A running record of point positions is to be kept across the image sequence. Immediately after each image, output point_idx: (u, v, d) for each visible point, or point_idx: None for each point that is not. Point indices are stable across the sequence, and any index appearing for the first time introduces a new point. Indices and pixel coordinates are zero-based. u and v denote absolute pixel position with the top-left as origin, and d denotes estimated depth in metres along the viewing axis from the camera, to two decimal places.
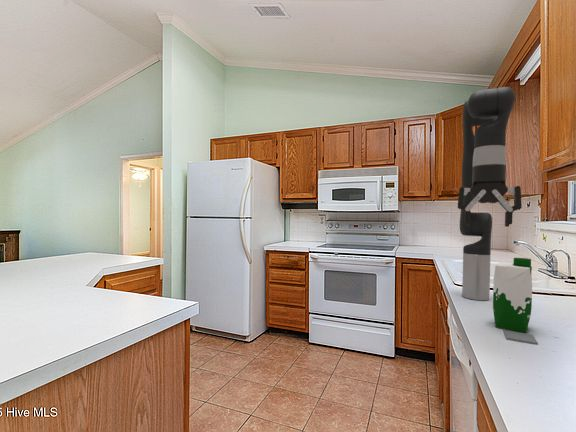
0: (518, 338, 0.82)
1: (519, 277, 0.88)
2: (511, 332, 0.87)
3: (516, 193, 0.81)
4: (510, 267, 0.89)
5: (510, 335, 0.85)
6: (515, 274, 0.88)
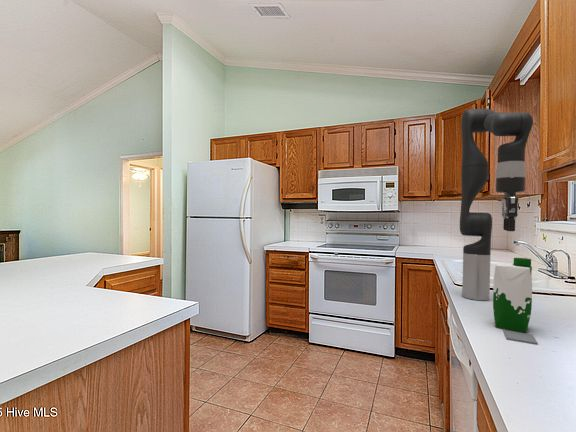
0: (518, 338, 0.82)
1: (519, 277, 0.88)
2: (511, 332, 0.87)
3: None
4: (510, 267, 0.89)
5: (510, 335, 0.85)
6: (515, 274, 0.88)
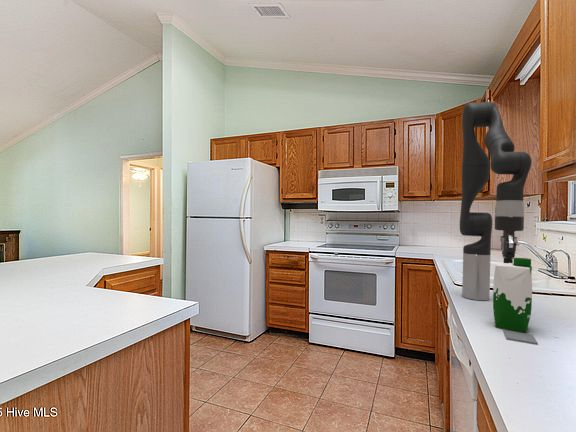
0: (518, 338, 0.82)
1: (519, 277, 0.88)
2: (511, 332, 0.87)
3: None
4: (510, 267, 0.89)
5: (510, 335, 0.85)
6: (515, 274, 0.88)
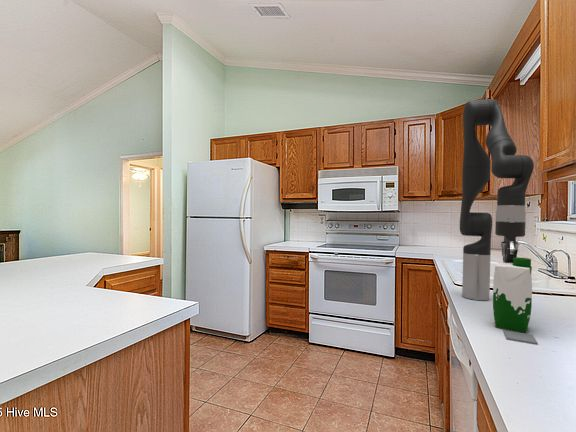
0: (518, 338, 0.82)
1: (519, 277, 0.87)
2: (511, 332, 0.87)
3: None
4: (510, 267, 0.89)
5: (510, 335, 0.85)
6: (515, 274, 0.88)
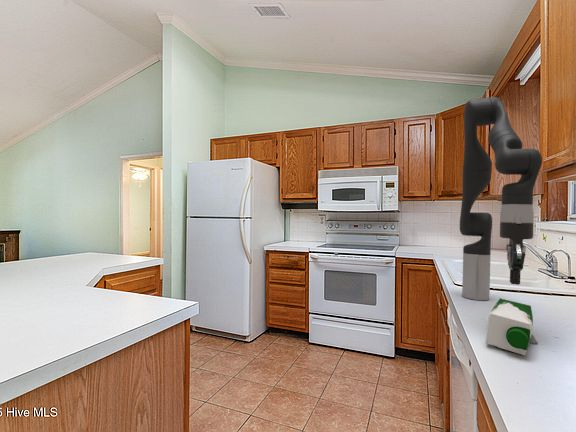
0: None
1: None
2: None
3: None
4: (503, 348, 0.76)
5: None
6: None
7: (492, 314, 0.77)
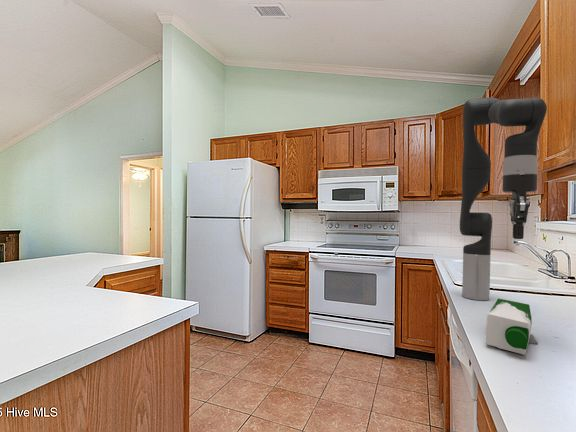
0: None
1: None
2: None
3: None
4: None
5: None
6: None
7: (490, 315, 0.77)
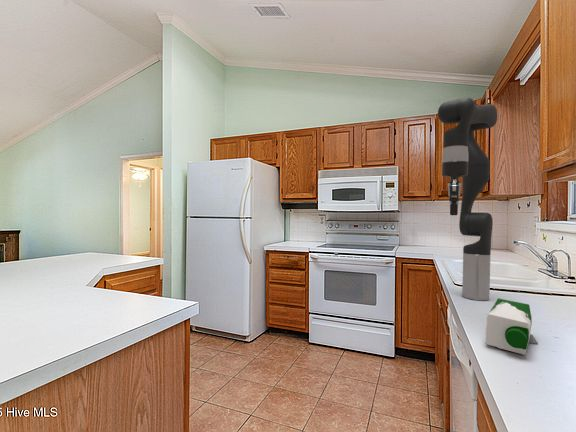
0: None
1: None
2: None
3: None
4: None
5: None
6: None
7: (490, 315, 0.77)
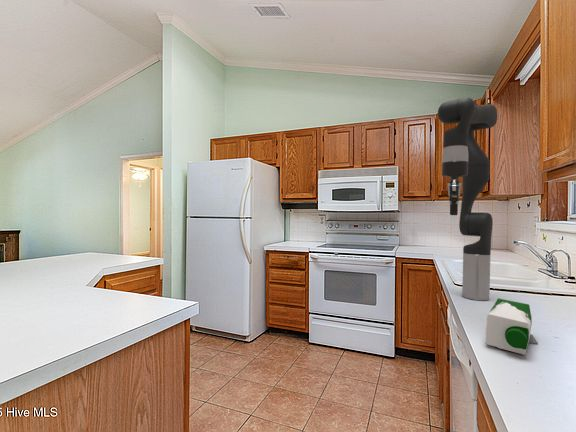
0: None
1: None
2: None
3: None
4: None
5: None
6: None
7: (490, 315, 0.77)
